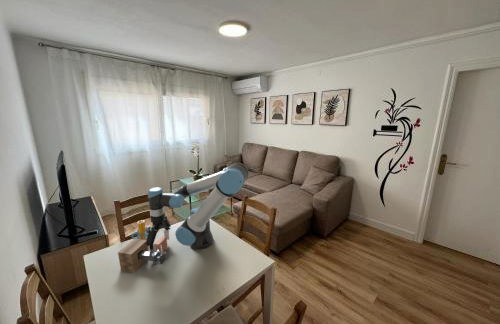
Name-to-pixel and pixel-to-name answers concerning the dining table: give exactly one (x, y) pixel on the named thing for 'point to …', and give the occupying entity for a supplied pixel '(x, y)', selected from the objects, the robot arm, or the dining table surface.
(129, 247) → the block
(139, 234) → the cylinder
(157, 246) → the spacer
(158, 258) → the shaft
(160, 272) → the dining table surface
